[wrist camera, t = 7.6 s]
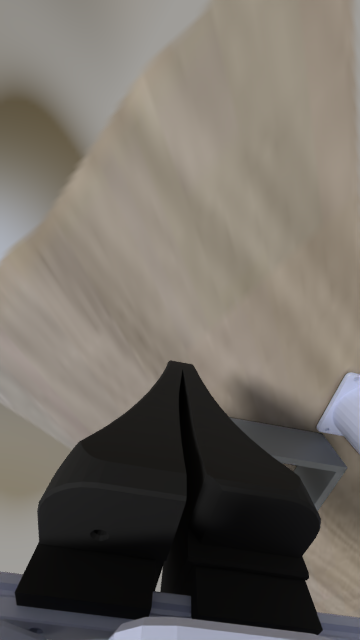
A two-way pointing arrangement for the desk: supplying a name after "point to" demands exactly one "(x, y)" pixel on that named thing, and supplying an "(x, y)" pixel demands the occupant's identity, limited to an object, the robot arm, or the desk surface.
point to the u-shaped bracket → (300, 455)
